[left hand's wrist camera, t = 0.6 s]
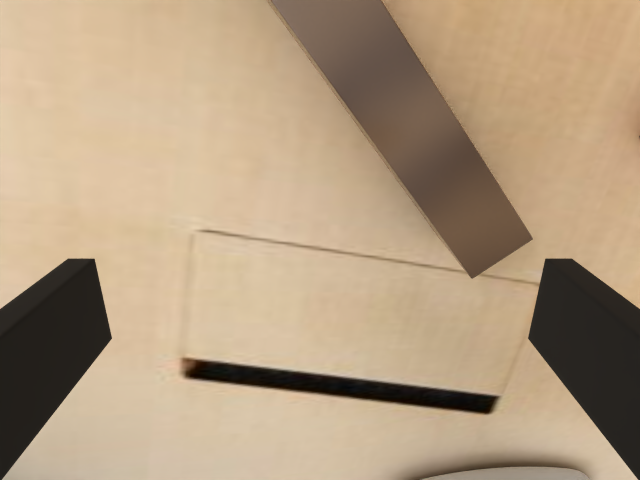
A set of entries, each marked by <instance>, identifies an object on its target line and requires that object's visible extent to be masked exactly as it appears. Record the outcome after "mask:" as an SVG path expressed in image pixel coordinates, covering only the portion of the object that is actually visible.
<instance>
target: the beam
mask: <svg viewBox="0 0 640 480" xmlns="http://www.w3.org/2000/svg"><path fill="white" fill-rule="evenodd" d="M267 1H268V3H269V4H270V6H271V7H272V8H273V10H274V11H275V12H276V14H277V15H278V17H279V18H280V19H281V21H282V22H283V23H284V25H285V26H286V28H287V29H288V30H289V32H290V33H291V34H292V36H293V37H294V39H295V40H296V41H297V43H298V44H299V45H300V47H301V48H302V50H303V51H304V52H305V54H306V55H307V57H308V58H309V59H310V61H311V62H312V63H313V65H314V66H315V68H316V69H317V70H318V72H319V73H320V74H321V76H322V77H323V79H324V80H325V81H326V83H327V84H328V85H329V87H330V88H331V90H332V91H333V92H334V94H335V95H336V96H337V98H338V99H339V101H340V102H341V103H342V105H343V106H344V108H345V109H346V110H347V112H348V113H349V114H350V116H351V117H352V119H353V120H354V121H355V123H356V124H357V125H358V127H359V128H360V130H361V131H362V132H363V134H364V135H365V136H366V138H367V139H368V141H369V142H370V143H371V145H372V146H373V147H374V149H375V150H376V152H377V153H378V154H379V156H380V157H381V159H382V160H383V161H384V163H385V164H386V165H387V167H388V168H389V170H390V171H391V172H392V174H393V175H394V176H395V178H396V179H397V181H398V182H399V183H400V185H401V186H402V187H403V189H404V190H405V192H406V193H407V194H408V196H409V197H410V198H411V200H412V201H413V203H414V204H415V205H416V207H417V208H418V210H419V211H420V212H421V214H422V215H423V216H424V218H425V219H426V221H427V222H428V223H429V225H430V226H431V227H432V229H433V230H434V232H435V233H436V234H437V236H438V237H439V238H440V240H441V241H442V242H443V243H444V245H445V246H446V247H447V248H448V250H449V251H450V252H451V253H452V255H453V256H454V257H455V258H456V260H457V261H458V262H459V264H460V265H461V266H462V267H463V269H464V270H465V271H466V272H467V274H468V275H469V276H470V277H471V278H474V277H476V276H477V275H479V274H480V273H482V272H483V271H485V270H486V269H488V268H489V267H491V266H492V265H494V264H496V263H497V262H499V261H500V260H502V259H503V258H505V257H506V256H508V255H509V254H511V253H513V252H514V251H516V250H517V249H519V248H520V247H522V246H523V245H525V244H526V243H528V242H529V241H531V240H532V239H533V238H532V236H531V235H530V233H529V232H528V230H527V228H526V227H525V225H524V224H523V222H522V221H521V219H520V217H519V216H518V214H517V213H516V211H515V210H514V208H513V206H512V205H511V203H510V202H509V200H508V199H507V197H506V195H505V194H504V192H503V191H502V189H501V188H500V186H499V184H498V183H497V181H496V180H495V178H494V177H493V175H492V173H491V172H490V170H489V169H488V167H487V166H486V164H485V162H484V161H483V159H482V158H481V156H480V155H479V153H478V151H477V150H476V148H475V147H474V145H473V144H472V142H471V140H470V139H469V137H468V136H467V134H466V133H465V131H464V129H463V128H462V126H461V125H460V123H459V122H458V120H457V119H456V117H455V115H454V114H453V112H452V111H451V109H450V108H449V106H448V104H447V103H446V101H445V100H444V98H443V97H442V95H441V93H440V92H439V90H438V89H437V87H436V86H435V84H434V82H433V81H432V79H431V78H430V76H429V75H428V73H427V71H426V70H425V68H424V67H423V65H422V64H421V62H420V60H419V59H418V57H417V56H416V54H415V53H414V51H413V49H412V48H411V46H410V45H409V43H408V42H407V40H406V38H405V37H404V35H403V34H402V32H401V31H400V29H399V27H398V26H397V24H396V23H395V21H394V20H393V18H392V16H391V15H390V13H389V12H388V10H387V9H386V7H385V6H384V4H383V2H382V1H381V0H267Z"/></svg>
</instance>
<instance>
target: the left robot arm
mask: <svg viewBox="0 0 640 480" xmlns="http://www.w3.org/2000/svg"><path fill="white" fill-rule="evenodd" d="M111 339H112V337H111V332H110V328H109V323H108V318H107V314H106V309H105V305H104V300H103V295H102V291H101V286H100V282H99V277H98V273H97V268H96V263H95V259H67V260H66V261H64V262H63V263H62V264H60V265H59V266H58V267H56V268H55V269H54V270H52V271H51V272H50V273H48V274H47V275H46V276H44V277H43V278H42V279H40V280H39V281H37V282H36V283H35V284H33V285H32V286H31V287H29V288H28V289H27V290H25V291H24V292H23V293H21V294H20V295H19V296H17V297H16V298H15V299H13V300H12V301H11V302H9V303H8V304H7V305H5V306H4V307H2V308H1V309H0V480H2V479H3V477H4V476H5V475H6V474H7V472H8V471H9V470H10V468H11V467H12V466H13V465H14V463H15V462H16V461H17V459H18V458H19V457H20V456H21V454H22V453H23V452H24V450H25V449H26V448H27V447H28V445H29V444H30V443H31V441H32V440H33V439H34V438H35V436H36V435H37V434H38V433H39V431H40V430H41V429H42V427H43V426H44V425H45V424H46V422H47V421H48V420H49V418H50V417H51V416H52V415H53V413H54V412H55V411H56V409H57V408H58V407H59V406H60V404H61V403H62V402H63V400H64V399H65V398H66V397H67V395H68V394H69V393H70V391H71V390H72V389H73V388H74V386H75V385H76V384H77V383H78V381H79V380H80V379H81V377H82V376H83V375H84V374H85V372H86V371H87V370H88V368H89V367H90V366H91V365H92V363H93V362H94V361H95V359H96V358H97V357H98V356H99V354H100V353H101V352H102V350H103V349H104V348H105V347H106V345H107V344H108V343H109V341H110V340H111ZM528 339H529V340H530V341H531V343H532V344H533V345H534V347H535V348H536V349H537V350H538V352H539V353H540V354H541V356H542V357H543V358H544V359H545V361H546V362H547V363H548V365H549V366H550V367H551V368H552V370H553V371H554V372H555V374H556V375H557V376H558V377H559V379H560V380H561V381H562V383H563V384H564V385H565V386H566V388H567V389H568V390H569V391H570V393H571V394H572V395H573V397H574V398H575V399H576V400H577V402H578V403H579V404H580V406H581V407H582V408H583V409H584V411H585V412H586V413H587V415H588V416H589V417H590V418H591V420H592V421H593V422H594V424H595V425H596V426H597V427H598V429H599V430H600V431H601V433H602V434H603V435H604V436H605V438H606V439H607V440H608V441H609V443H610V444H611V445H612V447H613V448H614V449H615V450H616V452H617V453H618V454H619V456H620V457H621V458H622V459H623V461H624V462H625V463H626V465H627V466H628V467H629V468H630V470H631V471H632V472H633V474H634V475H635V476H636V477H637V479H638V480H640V309H639V308H638V307H636V306H635V305H633V304H632V303H631V302H629V301H628V300H627V299H625V298H624V297H623V296H621V295H620V294H619V293H617V292H616V291H615V290H613V289H612V288H611V287H609V286H608V285H607V284H605V283H604V282H603V281H601V280H600V279H598V278H597V277H596V276H594V275H593V274H592V273H590V272H589V271H588V270H586V269H585V268H584V267H582V266H581V265H580V264H578V263H577V262H576V261H574V260H573V259H545V263H544V268H543V273H542V277H541V282H540V286H539V291H538V295H537V300H536V305H535V309H534V314H533V318H532V323H531V328H530V332H529V337H528Z"/></svg>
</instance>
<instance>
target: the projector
mask: <svg viewBox="0 0 640 480" xmlns="http://www.w3.org/2000/svg"><path fill="white" fill-rule="evenodd" d="M421 480H590V479H589V477H588V476H586V475H585V474H584V473H582V472H581V471H578V470H574V469H568V468H558V467H503V468H489V469H479V470H471V471H463V472H456V473H450V474H444V475H439V476H433V477H429V478H425V479H421Z"/></svg>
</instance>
